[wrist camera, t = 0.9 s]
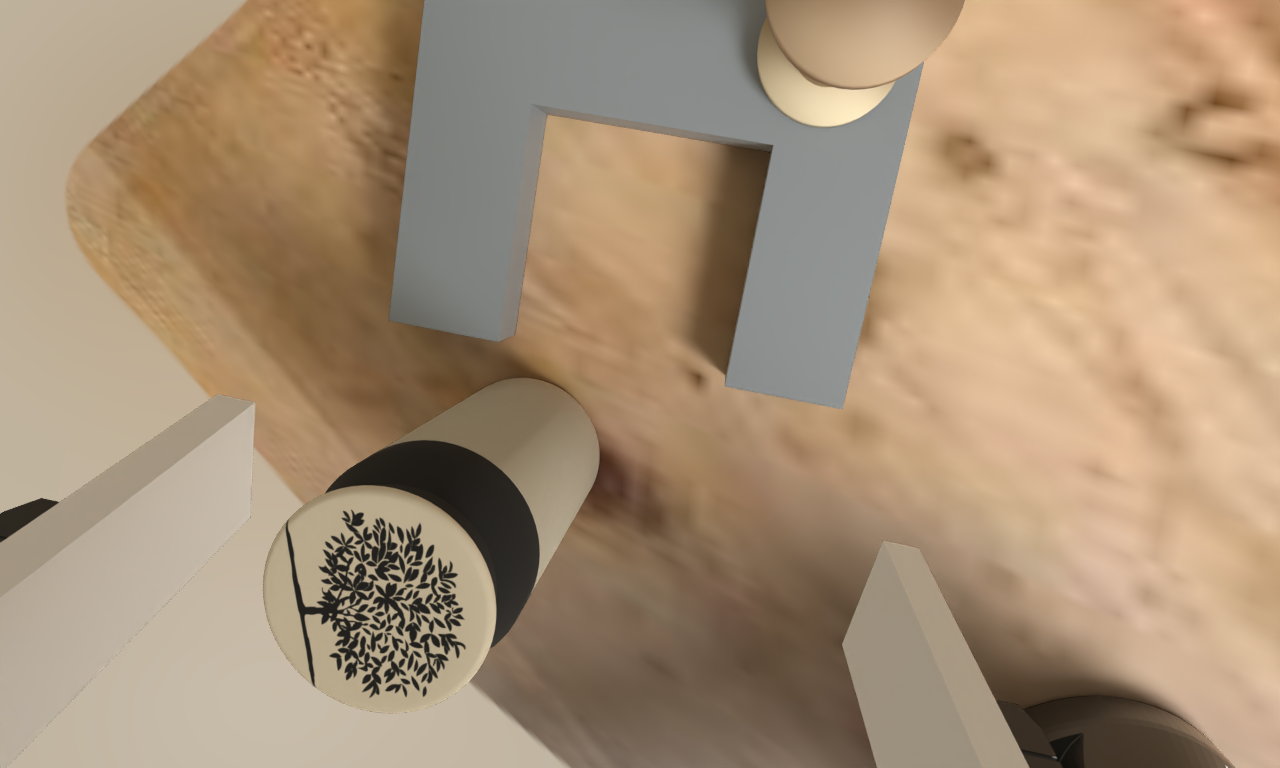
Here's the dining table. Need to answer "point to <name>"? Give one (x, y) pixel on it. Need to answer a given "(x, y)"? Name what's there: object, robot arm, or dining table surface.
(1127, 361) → the dining table surface
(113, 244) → the dining table surface
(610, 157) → the dining table surface
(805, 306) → the notched board
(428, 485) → the travel mug
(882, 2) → the birch bobbin
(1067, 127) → the dining table surface
